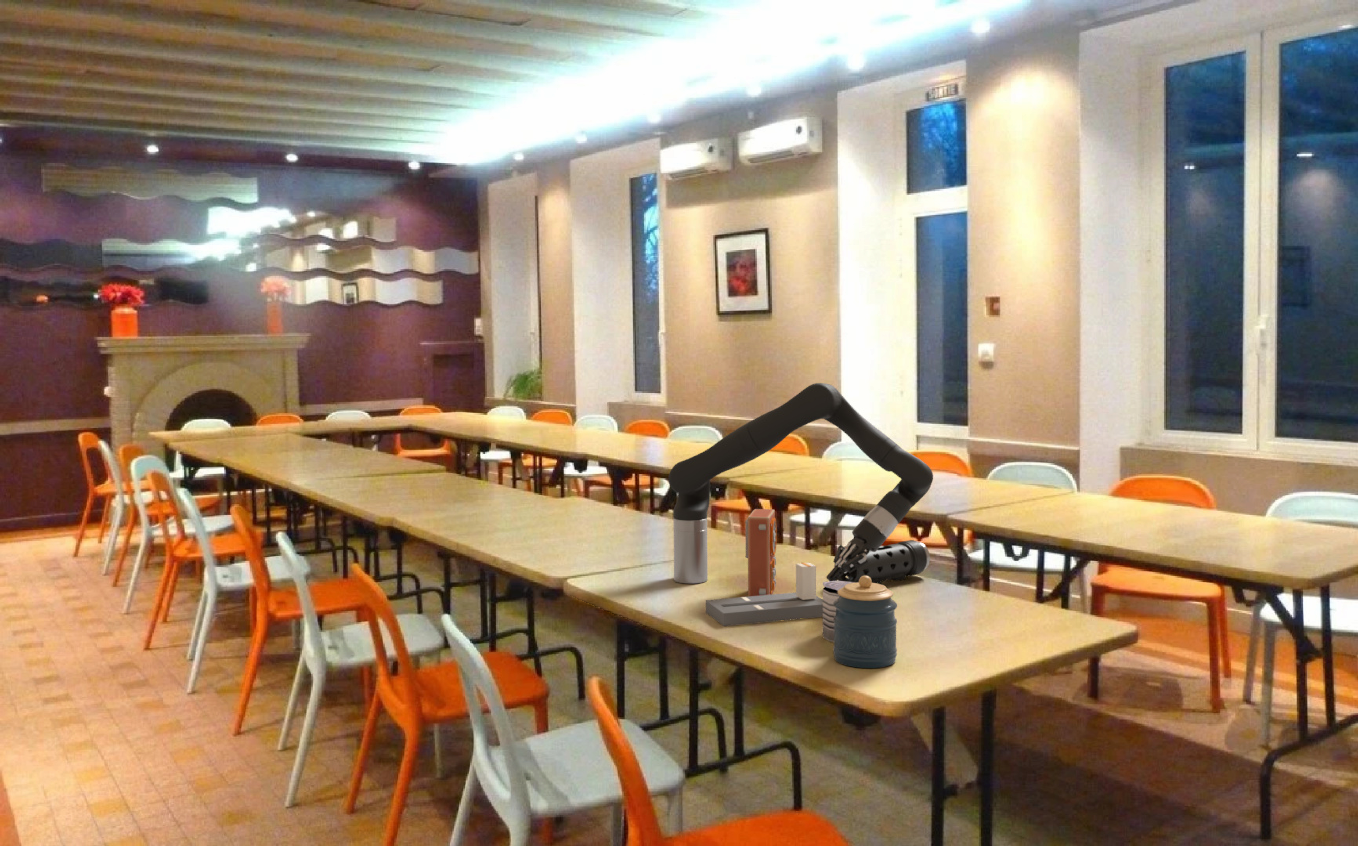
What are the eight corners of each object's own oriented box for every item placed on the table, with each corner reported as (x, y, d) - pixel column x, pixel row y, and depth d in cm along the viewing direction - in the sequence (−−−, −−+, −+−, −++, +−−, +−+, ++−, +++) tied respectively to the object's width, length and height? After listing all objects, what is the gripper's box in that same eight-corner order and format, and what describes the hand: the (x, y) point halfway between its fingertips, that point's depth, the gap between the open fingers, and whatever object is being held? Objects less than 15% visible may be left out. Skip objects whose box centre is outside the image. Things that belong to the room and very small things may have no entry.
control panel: (778, 589, 286) (771, 603, 272) (751, 587, 288) (743, 601, 273) (777, 508, 285) (771, 518, 270) (751, 507, 286) (743, 517, 271)
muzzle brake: (833, 587, 288) (833, 549, 287) (905, 573, 304) (906, 536, 303) (858, 594, 280) (859, 555, 279) (932, 579, 297) (932, 541, 296)
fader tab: (795, 596, 265) (795, 563, 264) (809, 594, 266) (809, 562, 265) (802, 599, 261) (802, 566, 261) (816, 598, 262) (816, 565, 262)
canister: (838, 648, 233) (838, 567, 231) (899, 653, 229) (900, 570, 227) (828, 666, 220) (828, 581, 219) (893, 671, 217) (894, 584, 215)
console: (705, 612, 263) (705, 599, 263) (808, 603, 271) (808, 590, 271) (723, 626, 251) (723, 613, 251) (830, 616, 259) (830, 603, 259)
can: (819, 630, 247) (819, 578, 246) (869, 630, 247) (870, 578, 246) (824, 644, 236) (825, 590, 234) (877, 644, 235) (878, 590, 234)
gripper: (853, 514, 273) (808, 565, 271) (878, 522, 261) (831, 576, 258) (872, 533, 275) (828, 584, 273) (897, 543, 263) (851, 597, 260)
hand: (829, 580), depth 265 cm, fingers closed
